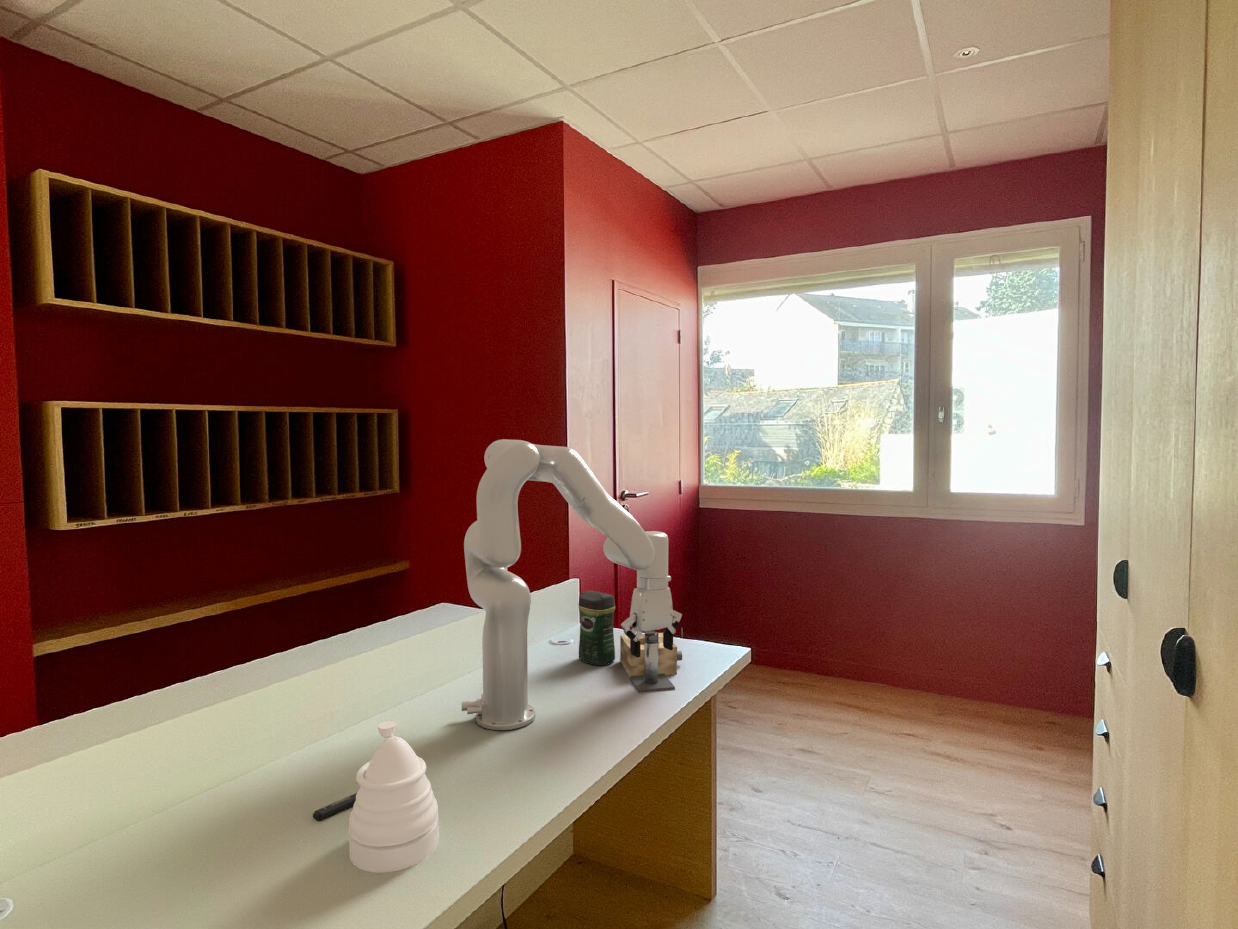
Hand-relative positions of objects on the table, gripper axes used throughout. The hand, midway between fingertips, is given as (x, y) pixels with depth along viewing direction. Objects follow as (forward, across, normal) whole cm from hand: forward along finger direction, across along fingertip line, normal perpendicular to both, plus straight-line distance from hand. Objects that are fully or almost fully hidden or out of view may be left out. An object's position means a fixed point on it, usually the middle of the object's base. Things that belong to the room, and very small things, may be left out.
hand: (651, 652), depth 167 cm
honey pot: (+8, +70, +31) cm, 77 cm away
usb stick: (+8, +74, +16) cm, 76 cm away
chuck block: (+8, -7, -9) cm, 14 cm away
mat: (+8, 0, 0) cm, 8 cm away
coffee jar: (+8, +3, -21) cm, 23 cm away
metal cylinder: (+7, 0, 0) cm, 7 cm away
